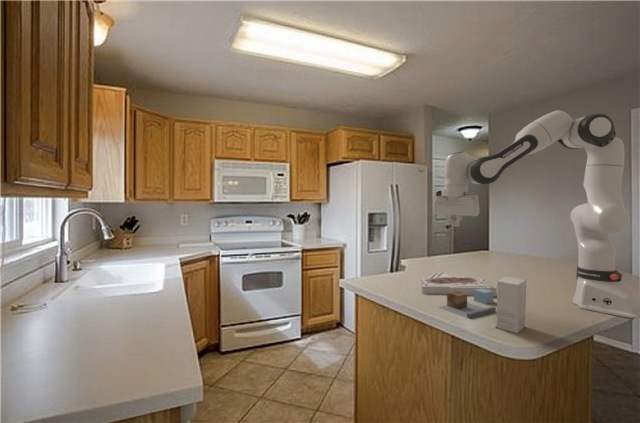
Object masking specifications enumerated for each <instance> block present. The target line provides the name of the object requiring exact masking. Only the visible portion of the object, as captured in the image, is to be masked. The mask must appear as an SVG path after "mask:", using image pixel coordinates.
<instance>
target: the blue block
mask: <svg viewBox="0 0 640 423" xmlns="http://www.w3.org/2000/svg"><path fill="white" fill-rule="evenodd" d="M494 298H495V296H494V291H491V290H487V289H483V288H482V289H477V290H474V295H473V301H474V302H477V303H481V304H483V305H488V304H492V303H494Z"/></svg>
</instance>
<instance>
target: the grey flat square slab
mask: <svg viewBox="0 0 640 423" xmlns="http://www.w3.org/2000/svg"><path fill="white" fill-rule="evenodd" d="M437 308H439V309H441V310H444V311H448V312H450V313H452V314H455V315H458V316H461V317H464V318H467V319H473V318H478V317H481V316H485V315H488V314H493V313H495V312H496V313H497V306H491V307H487V308H486V307H482V306H479V305H475V304H472V303H469V302H467V307H466V308H461V309H456V308H453V307H450V306H447V304H445V305H441V306H437Z"/></svg>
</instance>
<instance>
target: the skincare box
mask: <svg viewBox="0 0 640 423" xmlns="http://www.w3.org/2000/svg"><path fill="white" fill-rule="evenodd" d="M496 287H497V296H496V329H498V330H502V331H507V332H510V333H514V334H518V333H519V332H520V331H522V330H523V329H524V328H525V327H526V301H527V300H526V299H527V279H525V278H519V277H514V276H504V277H502V278H500V279H499V280H497V286H496Z"/></svg>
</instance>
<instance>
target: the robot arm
mask: <svg viewBox="0 0 640 423" xmlns="http://www.w3.org/2000/svg"><path fill="white" fill-rule="evenodd" d="M616 135H617V132H616V131H615V124H614V122H613V120H612V118H611V117H610V115H607V114H605V113H592V114H588V115H586V116H583V117H579V118H577V119H574V118H572V116H570V114H569V113H568V112H566V111H564V110H561V109H560V110H559V109H558V110H553V111H550V112H549V113H546V114H544V115H542V116H541V117H539V118H537V119H535V120H533V121H532V122H530V123H528V124H527V125H526V126H524V127H523V128H522V129H521V130H520V131H519V132H517V133H516V135H515V137H514V138H515V139H514V141H513V142H512V143H511V144H509V145H507V146H506V147H504V148H503V149H501V150H500V151H498V152H497V153H495V154H493V155H489V156H487V155H486V156H483V157H480V158H477V157H474V156H472V155H470V154H468V153H467V152H466V151H458V152H454V153H451V154H449V155H447V156H446V158H445V164H444V177H445V181H444V187H443V188H441V189H438V190H435V191H434V197H435V198H434V199H433V213H434V214H436V215H445V216H446V215H447V216H448V219H449V221H450V226H451V227H456V228H457V227H460V222H461V221H462V219H463V217H478V216H479V215H480V203H479V202H480V201H479V195H478V194H477V193H476V192H474V191H471V192H470V191H469V190H468V189H469V188H468V187H469V183H471V184H475V185H489V184H492V183H494V182H496V181H497V180H498V179H499V178H500V176H501V175H502V174H503V172H504V171H505V170H506V168H508V167H510V166H511V165H513V164H514V163H516V162H518V161H519V160H521V159H522V158H524V157H526V156H528V155H532V154H537V153H538V152H540V151H542V150H545V149H546V148H547V147H549V146H551V145H552V144H554V143H555V142H559V144H560V145H561V146H562V147H565V148H566V149H570V150H578V149H583V148H584V150H585V152H586V155H587V159H586V164H585V171H584V179H583V184H582V186H583V189H584V191H585V192H586V199H587V203H581V204H579V205H577V206H575V207H574V208H572V210H571V211H570V217H569V218H570V221H571V223H572V225H573V227H574V231H575V237H576V240H577V247H578V250H577V251H578V253H577V254H578V255H577V256H578V262H577V263H578V264H577V265H578V266H576V272H575V273H576V274H575V275H576V281H577V282H576V288H575V292H574V296H573V298H572V301H571V302H572V303H573V304H575V305H577V306H578V307H579V308H580V309H584V310H588V311H593V312H597V313H602V314H603V313H604V314H608V315H613V316H617V317H622V318H623V317H624V318H628V319H636V320H637V319H640V294H639V293H638V292H637V291H635V290H634V289H633V288H632V287H630V286H628V285H627V284H626V283H625V282H624V281H622V279H623V278H622V277H623V276H624V272H619V270H617V269H616V257H617V255H616V254H617V249H616V247H615V246H614V244H613V242H612V239H611V236H610V234H616V233H620V232H622V231H624V230H626V229H627V228H628V226H629V225H630V222H631V218H630V214H629V212H628V211H627V210H626V208H625V204H624V200H623V194H622V192H623V191H622V190H623V189H622V184H623V178H624V177H623V176H624V168H625V160H626V159H625V158H626V157H625V154H626V152H625V144H624V142H623V140H622V139H621V138H619V137H616ZM455 218H456V220H455Z"/></svg>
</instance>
